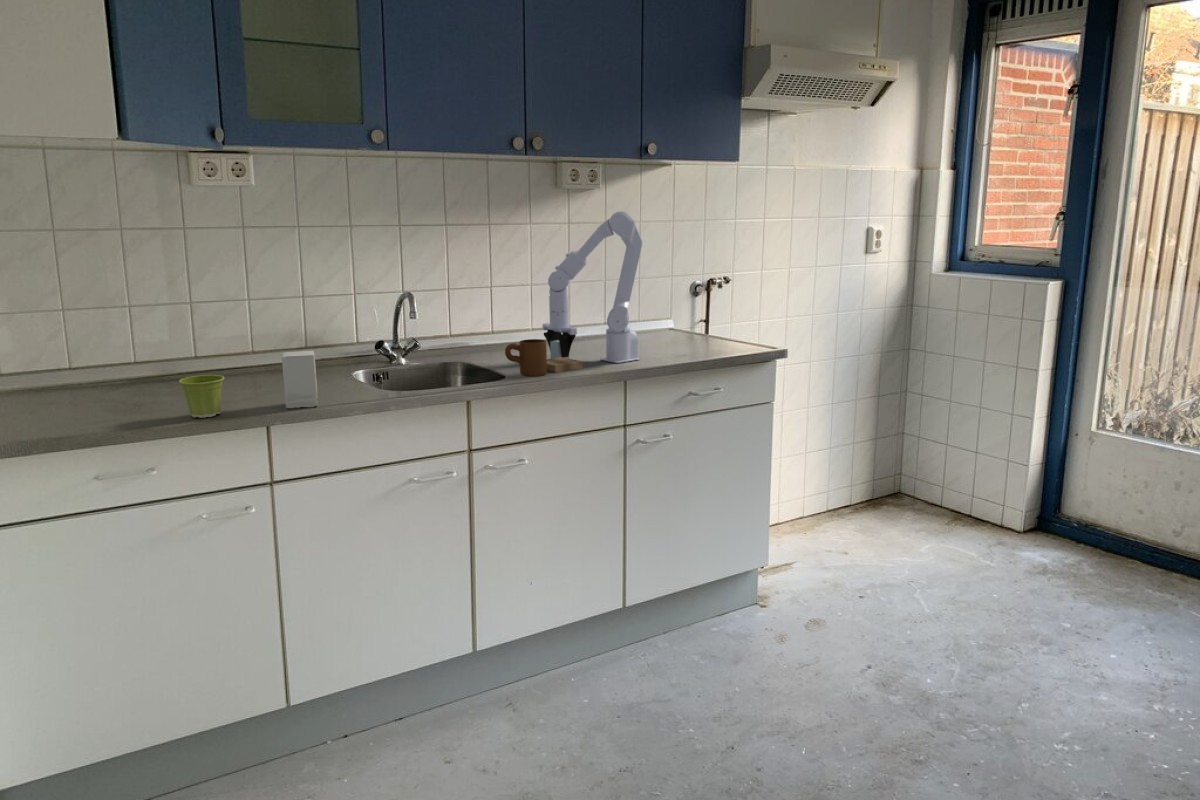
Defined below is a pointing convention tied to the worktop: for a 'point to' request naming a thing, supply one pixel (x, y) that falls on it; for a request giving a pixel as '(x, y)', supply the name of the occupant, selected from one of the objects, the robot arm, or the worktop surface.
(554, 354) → the block
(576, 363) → the base
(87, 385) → the worktop surface
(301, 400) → the supplement box
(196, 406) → the plant pot
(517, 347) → the mug
